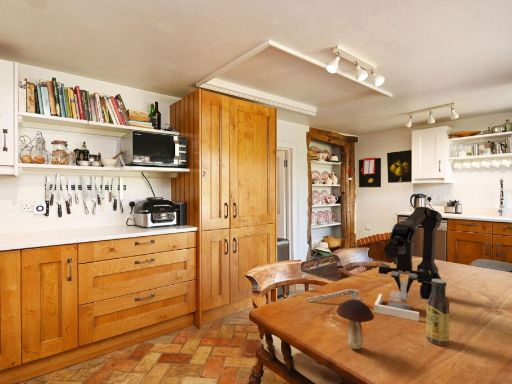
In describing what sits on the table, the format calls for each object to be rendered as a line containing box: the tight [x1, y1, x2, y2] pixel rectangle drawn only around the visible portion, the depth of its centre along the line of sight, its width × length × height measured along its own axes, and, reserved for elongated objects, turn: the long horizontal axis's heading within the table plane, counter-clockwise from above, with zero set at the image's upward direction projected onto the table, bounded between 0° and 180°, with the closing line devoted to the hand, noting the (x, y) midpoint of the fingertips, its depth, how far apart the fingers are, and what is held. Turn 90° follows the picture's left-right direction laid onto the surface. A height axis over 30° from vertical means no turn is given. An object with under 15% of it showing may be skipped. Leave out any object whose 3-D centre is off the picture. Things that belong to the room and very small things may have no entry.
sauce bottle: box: [425, 278, 450, 346], centre depth 91 cm, size 6×6×20 cm
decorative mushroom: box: [336, 298, 375, 350], centre depth 87 cm, size 11×11×15 cm
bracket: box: [306, 288, 364, 303], centre depth 122 cm, size 3×21×10 cm, turn 80°
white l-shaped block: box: [373, 293, 420, 322], centre depth 116 cm, size 16×15×3 cm
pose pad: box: [386, 301, 412, 311], centre depth 116 cm, size 9×11×1 cm
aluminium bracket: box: [389, 279, 408, 303], centre depth 117 cm, size 8×6×6 cm
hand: (404, 292), depth 116 cm, fingers closed on aluminium bracket
